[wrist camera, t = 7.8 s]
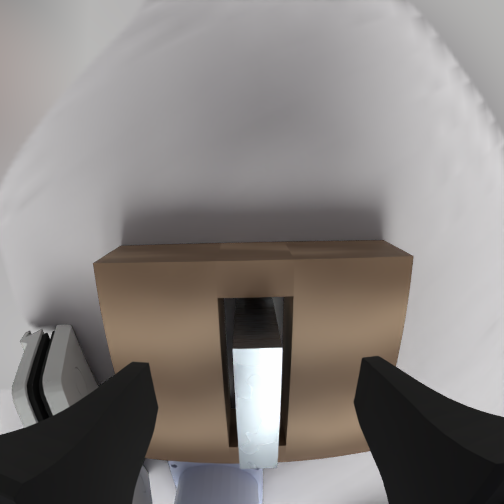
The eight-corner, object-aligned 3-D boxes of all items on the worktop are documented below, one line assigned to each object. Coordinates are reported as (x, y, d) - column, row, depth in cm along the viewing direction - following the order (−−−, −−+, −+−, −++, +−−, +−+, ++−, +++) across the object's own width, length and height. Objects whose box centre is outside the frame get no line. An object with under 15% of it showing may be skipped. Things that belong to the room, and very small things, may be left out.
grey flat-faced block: (269, 393, 21) (277, 467, 15) (240, 394, 21) (240, 468, 15) (270, 288, 20) (282, 347, 13) (236, 289, 19) (232, 348, 13)
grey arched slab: (23, 327, 20) (-22, 395, 11) (73, 314, 21) (45, 382, 12) (105, 472, 24) (111, 550, 15) (147, 463, 25) (164, 542, 16)
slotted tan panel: (357, 416, 22) (372, 450, 18) (153, 421, 22) (141, 457, 18) (383, 240, 19) (413, 256, 15) (120, 245, 19) (93, 263, 15)
